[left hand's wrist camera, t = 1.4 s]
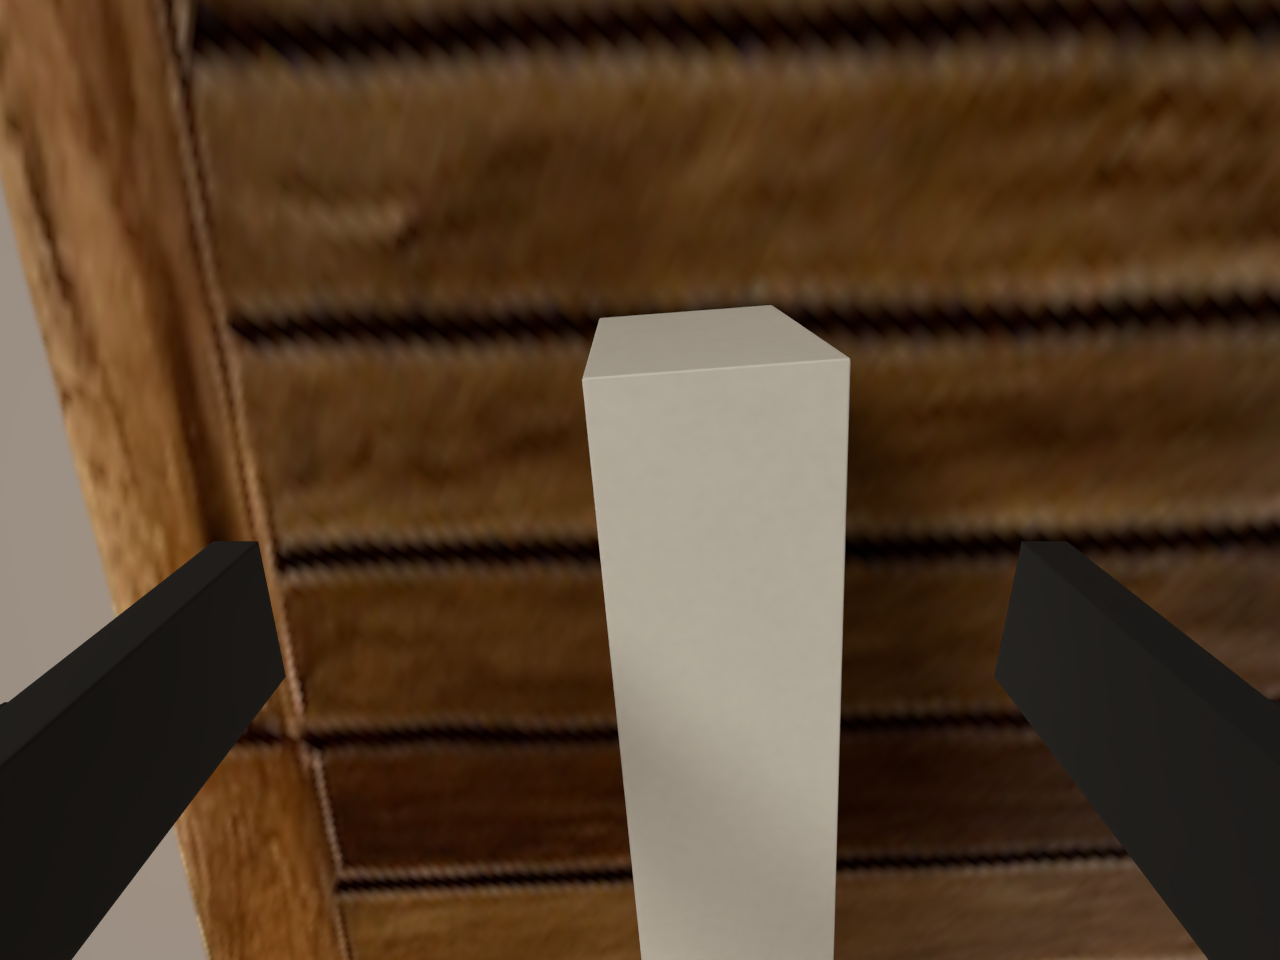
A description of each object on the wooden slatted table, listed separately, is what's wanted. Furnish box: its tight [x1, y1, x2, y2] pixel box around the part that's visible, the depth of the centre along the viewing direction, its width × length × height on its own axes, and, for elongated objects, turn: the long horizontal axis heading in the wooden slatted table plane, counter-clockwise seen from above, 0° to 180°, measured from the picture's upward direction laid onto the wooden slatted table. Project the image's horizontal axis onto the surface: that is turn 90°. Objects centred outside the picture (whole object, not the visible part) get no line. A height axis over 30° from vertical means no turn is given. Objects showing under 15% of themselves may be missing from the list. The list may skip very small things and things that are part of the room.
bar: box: [582, 305, 850, 960], centre depth 25 cm, size 25×6×9 cm, turn 4°
